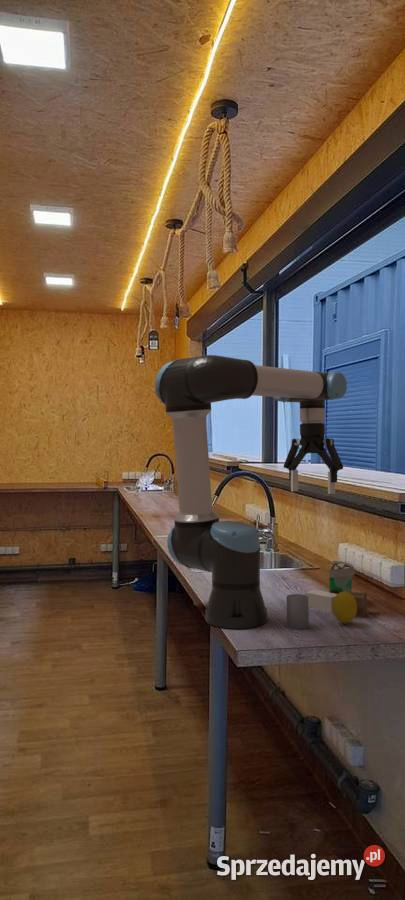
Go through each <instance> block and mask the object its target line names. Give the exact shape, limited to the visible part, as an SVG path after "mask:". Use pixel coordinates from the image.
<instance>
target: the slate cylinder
mask: <svg viewBox="0 0 405 900" xmlns="http://www.w3.org/2000/svg"><path fill="white" fill-rule="evenodd" d="M309 621H310V619H309V608H308V596H306V595H305V594H301V593H292V594H288V595H286V627H287V628H288V629H290V630H293V631H294V630H296V631H297V630H298V631H299V630H300V631H302V630H307V629H308V628H309V627H310V626H309Z"/></svg>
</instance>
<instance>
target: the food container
mask: <svg viewBox="0 0 405 900" xmlns="http://www.w3.org/2000/svg"><path fill="white" fill-rule="evenodd" d="M332 563H333V564H332V566H331V568H328V578H329V582H328V583H329V593H334V594H338V593H340V592H343V591H344V590H345V591H350V592H353V591H352V590H353V589H352V586H353V576H354V575H355V574H356V571H355V567H354V566H353V564H352V563H350V562H346V561H341V560H338V561H337V560H333V562H332Z"/></svg>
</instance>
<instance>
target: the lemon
mask: <svg viewBox="0 0 405 900" xmlns="http://www.w3.org/2000/svg"><path fill="white" fill-rule="evenodd" d="M356 612H357V604H356V600H355V598H354V596H353V595H352V594H350V593H348V592H347V591H345V590H344V591H343V592H340V593H338V594H337V595H336V597H335V598H334V602H333V612H332V613H333V614H334V616H335V619H337V620H338V621H340V622H341V623H342V624H343V625H347V624H348V623H349V622H351V621H353V620H354V618H356V617H355V616H356Z"/></svg>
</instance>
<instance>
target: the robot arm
mask: <svg viewBox="0 0 405 900" xmlns="http://www.w3.org/2000/svg"><path fill="white" fill-rule="evenodd" d="M347 384H348V382H347V379H346V376H345V375H344V374H343V373H342V372H340V371H329V372H322V371H314V370H311V371H310V370H301V369H293V368H284V367H275V366H274V367H273V366H265V365H256V364H255V363H254V362H252V361H251V360H247V359H242V358H236V357H229V356H228V357H227V356H221V355H217V354H215V355H213V354H204V355H200V356H192V357H187V358H177V359H176V360H173V361H169V362H167V363H166V364H164V365H162V367H161V368H160V369H159V371H158V373H157V374H156V377H155V382H154V390H155V393H156V396H157V398H158V399H159V400H160V402H161V403H162V404H163V405H165V414H166V415H167V416H168V417H169V418H170V419H171V420H172V430H173V444H174V445H173V446H174V457H175V469H176V470H175V471H176V481H177V482H176V483H177V484H176V485H177V495H178V498H177V499H178V508H179V509H178V510H179V511H178V513H177V515H176V516H175V517H174V521H173V522H174V524H173V526H172V527H171V528H170V532H169V533H168V536H167V540H166V541H167V543H166V544H167V549H168V553H169V555H170V556H171V558H172V559H173V560H174V561H175V562H176V563H177V564H178V565H181V566H184V567H186V568H188V569H195V570H199V571H204V572H208V573H211V583H212V584H211V592H210V594H209V598H208V603H207V607H206V608H205V612H204V613H205V622H206V624H207V623H208V624H209V625H211V626H214V627H217V628H222V629H237V630H238V629H239V630H240V629H250V628H256V627H259V626H262V625H265V624H267V622H268V619H269V618H268V617H269V615H268V613H269V612H268V609H267V607H266V605H265V601H264V597H263V594H262V591H261V582H260V581H261V580H260V579H261V578H260V577H261V543H260V534H259V530H258V528H256V527H255V526H253V525H251V524H249V523H245V522H242V521H234V520H222V521H221V520H220V516H219V515H220V514H218V513H217V512H216V511H215V510H214V509H213V498H212V496H213V495H212V485H211V469H210V457H209V455H210V454H209V442H208V428H207V416H208V415H209V413H211V411H212V403H217V402H222V401H223V402H224V401H228V400H236V399H237V400H247V399H249V398H251V397H252V396H253V397H254V396H257V397H272V398H273V399H274V401H276V402H282V403H299V422H300V424H299V435H300V438H292V439H291V445H290V449H289V452H288V453H287V456H286V459H285V461H284V464H283V468H284V469H286V470H288V472H289V473H288V478H289V479H288V480H289V481H290V491H291V492H298V491H299V470H298V467H299V465H300V463H301V462H302V461H303V459H304V458H305V456H306V455H308V454H316V455H318V456H319V457H320V458H321V459H322V461H323V463H324V464H325V465H326V467H327V468H328V470H329V471H328V472H327V494H328V495H330V494H331V495H332V494H336V483H337V482H338V471H340V470H344V465H343V463H342V461H341V458H340V456H339V453H338V451H337V449H336V447H335V442H334V441H335V440H334V438H333V437H332V438H328V437H327V438H326V439H325V434H326V424H325V423H324V422H325V417H326V414H325V413H326V412H325V411H326V410H325V408H326V407H325V401H327V400H328V401H330V400H332V401H333V400H339V399H341V398H343V397H344V396H345V395H346V393H347V390H348V385H347ZM300 446H301V447H300ZM324 446H326V448H325V447H324ZM327 452H328V453H327Z"/></svg>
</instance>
